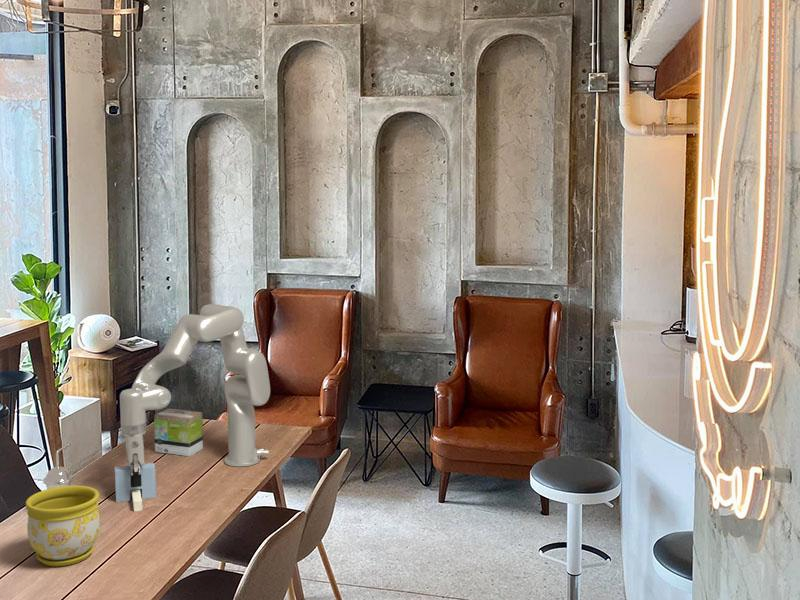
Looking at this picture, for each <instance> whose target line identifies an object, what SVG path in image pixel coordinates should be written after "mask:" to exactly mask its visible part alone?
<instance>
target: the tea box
mask: <svg viewBox="0 0 800 600" xmlns="http://www.w3.org/2000/svg"><path fill="white" fill-rule="evenodd" d="M153 419H154V420H153V421H154V422H153V423H154V424H153V425H154V428H153V429H154V452H155V453H163V454H170V455H176V456H184V457H189V458H190V457H192V456H193V455H195V454H196V452H197V453H199V452H200V451H202V450H203V448H204V441H203V440H204V437H203V436H204V434H203V432H204V430H203V426H204V425H203V424H204V423H203V412H202V411H194V410H185V409H175V408H166V409H164V410H162V411H160V412H158V413H156V414H154V415H153ZM201 449H202V450H201Z"/></svg>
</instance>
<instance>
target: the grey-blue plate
mask: <svg viewBox="0 0 800 600" xmlns="http://www.w3.org/2000/svg"><path fill="white" fill-rule="evenodd" d="M133 468H134V467H133ZM140 474H141V483H142V486H140V487H131V479H130V475H131V467H130V466H129V465H121V466H114V484H115V487H114V488H115V503H121V501H123V502H129V501H131V490H134V489H140V493H141V498H142V500H146V499H147V500H148V499H157V482H156V481H157V480H156V478H157V477H156V465H155V463H154V462H150V463H145V464H144V465H141V464H140Z"/></svg>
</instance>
